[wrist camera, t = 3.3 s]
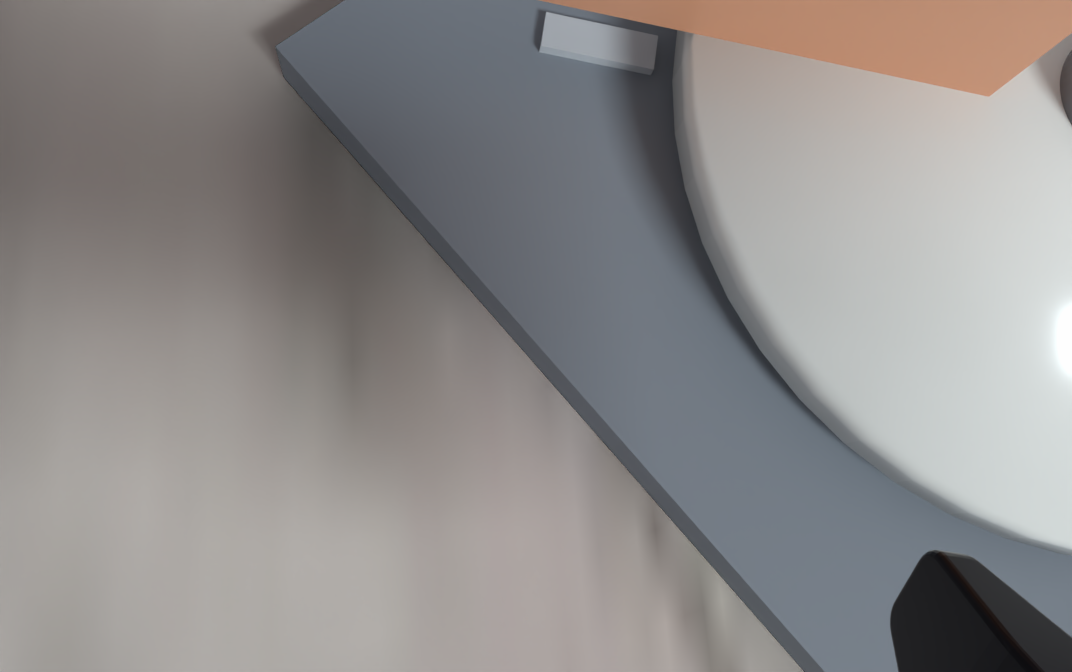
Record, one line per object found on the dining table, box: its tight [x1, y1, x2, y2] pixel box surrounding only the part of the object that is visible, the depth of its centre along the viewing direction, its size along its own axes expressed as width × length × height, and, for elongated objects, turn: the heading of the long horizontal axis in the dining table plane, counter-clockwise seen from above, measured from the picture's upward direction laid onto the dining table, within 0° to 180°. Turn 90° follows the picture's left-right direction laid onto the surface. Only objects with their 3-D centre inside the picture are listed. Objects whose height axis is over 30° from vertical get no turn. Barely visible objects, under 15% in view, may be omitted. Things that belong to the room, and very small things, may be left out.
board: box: [275, 0, 1072, 672], centre depth 20 cm, size 24×24×1 cm
